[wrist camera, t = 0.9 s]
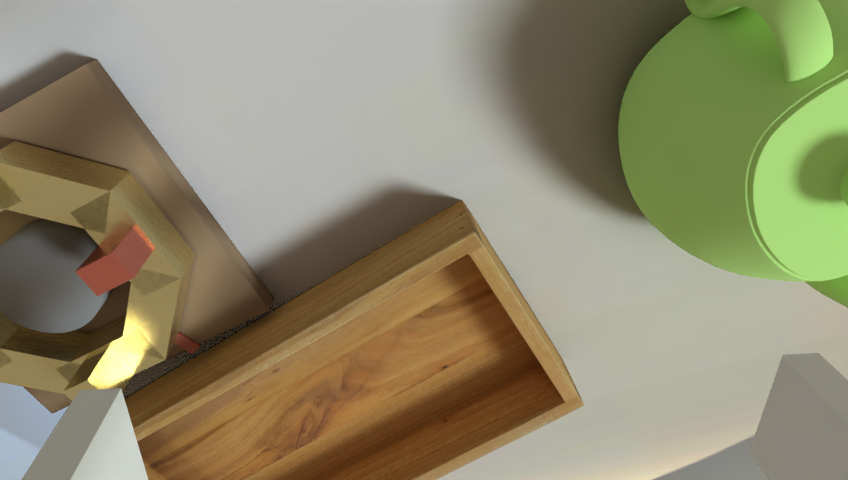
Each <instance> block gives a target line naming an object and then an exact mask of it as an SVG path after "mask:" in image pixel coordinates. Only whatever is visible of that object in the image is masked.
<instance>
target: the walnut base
mask: <svg viewBox="0 0 848 480" xmlns="http://www.w3.org/2000/svg"><path fill="white" fill-rule="evenodd" d="M14 141H17V142H20V143H24V144H28V145H32V146H35V147H39V148H43V149H47V150H50V151H54V152H58V153H62V154H65V155H69V156H73V157H77V158H80V159H84V160H88V161H92V162H95V163H99V164H103V165H107V166H110V167H114V168H118V169H121V170H125V171H129V172H131V173H132V175H133V176H134V177H135V178H136V180H137V181H138V182H139V184H140V185H141V186H142V187H143V189H144V190H145V191H146V193H147V194H148V195H149V196H150V198H151V199H152V200H153V201H154V203H155V204H156V205H157V207H158V208H159V209H160V210H161V212H162V213H163V214H164V215H165V217H166V218H167V219H168V221H169V222H170V223H171V224H172V226H173V227H174V228H175V230H176V231H177V232H178V233H179V235H180V236H181V237H182V238H183V240H184V241H185V242H186V244H187V245H188V246H189V247H190V249H191V250H192V251H193V252H194V254H195V255H194V260H193V265H192V270H191V275H190V280H189V285H188V290H187V295H186V300H185V306H184V311H183V316H182V321H181V326H180V331H179V334H178V336H177V338H176V340H175V342H174V344H173V346H172V348H171V350H170V352H169V354H168V356H167V358H166V359H168V358H170V357H172V356H175V355H177V354H179V353H181V352H183V351H185V350H186V351H188V352H189V353H191V354H193V353H194V352H195V351H196V350H197V349H198V348H199V347H200V343H202V342H204V341H206V340H208V339H210V338H212V337H215V336H217V335H219V334H221V333H223V332H225V331H227V330H229V329H231V328H234V327H236V326H238V325H240V324H242V323H244V322H246V321H248V320H250V319H253V318H255V317H257V316H259V315H261V314H263V313H265V312H267V311H269V310H270V307H271V304H272V300H273V297H272V295H271V294H270V293H269V291H268V290H267V289H266V287H265V286H264V285H263V283H262V282H261V281H260V279H259V278H258V276H257V275H256V274H255V272H254V271H253V270H252V268H251V267H250V266H249V264H248V263H247V262H246V260H245V259H244V258H243V256H242V255H241V253H240V252H239V251H238V249H237V248H236V247H235V245H234V244H233V243H232V241H231V240H230V239H229V237H228V236H227V235H226V233H225V232H224V230H223V229H222V228H221V226H220V225H219V224H218V222H217V221H216V220H215V218H214V217H213V216H212V214H211V213H210V212H209V210H208V209H207V207H206V206H205V205H204V203H203V202H202V201H201V199H200V198H199V197H198V195H197V194H196V193H195V191H194V190H193V189H192V187H191V186H190V185H189V183H188V182H187V180H186V179H185V178H184V176H183V175H182V174H181V172H180V171H179V170H178V168H177V167H176V166H175V164H174V163H173V162H172V160H171V159H170V157H169V156H168V155H167V153H166V152H165V151H164V149H163V148H162V147H161V145H160V144H159V143H158V141H157V140H156V139H155V137H154V136H153V134H152V133H151V132H150V130H149V129H148V128H147V126H146V125H145V124H144V122H143V121H142V120H141V118H140V117H139V116H138V114H137V113H136V112H135V110H134V109H133V107H132V106H131V105H130V103H129V102H128V101H127V99H126V98H125V97H124V95H123V94H122V93H121V91H120V90H119V89H118V87H117V86H116V84H115V83H114V82H113V80H112V79H111V78H110V76H109V75H108V74H107V72H106V71H105V70H104V68H103V67H102V66H101V64H100V63H99V61H98V60H97V59H96V60H94V61H92V62H90V63H87V64H85V65H83V66H81V67H80V68H78V69H76V70H74V71H73V72H71V73H69V74H67V75H66V76H64V77H62V78H60V79H59V80H57V81H55V82H53V83H52V84H50V85H48V86H46V87H44V88H43V89H41V90H39V91H37V92H36V93H34V94H32V95H30V96H29V97H27V98H25V99H23V100H22V101H20V102H18V103H16V104H15V105H13V106H11V107H9V108H8V109H6V110H4V111H2V112H1V113H0V149H2V148H4V147H5V146H7V145H9V144H11V143H12V142H14ZM97 246H98V244H97V243H96V242H95V241H94V239H93V238H92V237H91V236H90V235H89V234H88V233H87V231H86V230H85V229H84V228H80V227H76V226H72V225H68V224H64V223H59V222H55V221H51V220H47V219H43V218H39V217H35V216H31V215H27V214H23V213H18V212H14V211H10V210H6V209H5V210H3V211H2V212H0V312H1V313H2V314H4V315H5V316H6V317H8V318H9V319H10V320H12V321H14V322H15V323H17V324H19V325H21V326H23V327H26V328H29V329H31V330H35V331H39V332H45V333H64V332H70V331H73V330H75V331H79V332H84V333H89V334H91V333H93V332H95V331H97V330H99V329H101V328H103V327H105V326H107V325H109V324H111V323H113V322H115V321H117V320H119V319H121V318H123V317H125V316H126V313H127V306H128V299H129V292H130V286H131V282H130V281H127V282H125V283H123V284H121V285H119V286H117V287H115V288H113V289H111V290H109V291H107V292H105V293H103V294H101V295H99V296H97V295H96V294H95V293H94V292H93V291H92V290H91V289H90V288H89V287H88V286H87V284H86V283H85V282H84V281H83V280H82V279H81V278H80V277H79V276H78V275H77V274H76V272H75V271H76V270H77V269H78V268H79V266H80V265H81V264H82V263H83V262H84V261H85V260H86V259H87V258H88V256H89V255H90V254H91V253H92V252H93V251H94V250H95V249H96V247H97ZM23 387H24V386H23ZM24 388H25V389H26V390H27V391H28V392H29V393H30V394H32V395H33V396H34V397H35V398H36V399H37V400H38V401H39V402H40V403H41V404H42V405H43V406H45V407H46V408H47V409H48V410H49V411H50V412H51V413H54V412H57V411H58V410H61V409H63V408H65V407H67V406H69V405H70V404H71V402H72V400H71V399H70V398H68V397H67V396H66V395H65V394H61V393H56V392H50V391H45V390H40V389H34V388H29V387H24Z"/></svg>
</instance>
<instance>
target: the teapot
mask: <svg viewBox="0 0 848 480" xmlns="http://www.w3.org/2000/svg"><path fill="white" fill-rule="evenodd" d="M685 3H686V6H687V8H688V9H689V11H690V12H691V13H692V14H691V15H689V16H688V17H687V18H685V19H684V20H683V21H681V22H680V23H679V24H678V25H677V26H675V27H674V28H673V29H672V30H671V31H669V32H668V33H667V34H666V35H665V36H664V37H663V38H662V39H661V40H660V41H659V42H658V43H657V44H656V45H655V46H654V47H653V48H652V49H651V50H650V51H649V52H648V53H647V54H646V56H645V57H644V58H643V60H642V61H641V62H640V64H639V65H638V66H637V68H636V70H635V71H634V73H633V75H632V77H631V79H630V81H629V82H628V85H627V88H626V90H625V93H624V96H623V98H622V103H621V108H620V113H619V124H618V139H619V151H620V157H621V163H622V168H623V172H624V175H625V178H626V182H627V185H628V187H629V189H630V192H631V194H632V196H633V198H634V200H635V202H636V203H637V205H638V207H639V208H640V210H641V211H642V213H643V214H644V215H645V216H646V218H647V219H648V220H649V221H650V222H651V224H652V225H653V226H655V227H656V228H657V229H658V230H659V231H660V232H661V233H662V234H664V235H665V236H666V237H667V238H668V239H669V240H670V241H672V242H673V243H675V244H676V245H678V246H679V247H680V248H682V249H683V250H685V251H687V252H688V253H690V254H691V255H693V256H695V257H697V258H699V259H701V260H703V261H705V262H707V263H709V264H711V265H713V266H715V267H718V268H721V269H724V270H727V271H730V272H734V273H737V274H740V275H745V276H750V277H756V278H764V279H773V280H783V281H796V282H800V281H805V282H806V283H807V284H809V285H810V286H811V287H813V288H814V289H816V290H817V291H819V292H820V293H822V294H824V295H825V296H827V297H829V298H831V299H832V300H834V301H836V302H838V303H840V304H842V305H844V306H846V307H848V0H685Z"/></svg>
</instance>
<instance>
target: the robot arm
mask: <svg viewBox="0 0 848 480" xmlns="http://www.w3.org/2000/svg"><path fill="white" fill-rule="evenodd" d="M749 453H750V455H751V456H752V457H753V459H754V460H755V461H756V463H757V464H758V466H760V468H761V470H762V471H763V472H764V474H765V475H766V477H767V478H768V479H769V480H848V380H847V379H846V378H844V377H843V376H842V375H841V374H840V373H839V372H838V371H837V370H836V369H835V368H834V367H833V366H832V365H831V364H830V363H828V362H827V361H826V360H825V359H824V358H823V357H822V356H821V355H820V354H819V353H811V354H791V355H783V356H782V359H781V362H780V365H779V367H778V370H777V373H776V376H775V379H774V382H773V385H772V388H771V391H770V394H769V396H768V399H767V402H766V405H765V408H764V411H763V414H762V417H761V420H760V423H759V425H758V428H757V431H756V434H755V437H754V440H753V443H752V446H751V449H750V452H749ZM22 480H148V477H147V473H146V470H145V466H144V463H143V460H142V456H141V453H140V450H139V446H138V443H137V440H136V436H135V433H134V430H133V426H132V423H131V420H130V416H129V413H128V409H127V406H126V403H125V399H124V396H123V393H122V389H121V388H115V389H95V390H79V391H78V393H77V394H76V396H75V398H74V399H73V401H72V402H71V404H70V405H69V407H68V408H67V410H66V412H65V413H64V415H63V416H62V418H61V419H60V421H59V423H58V424H57V426H56V427H55V429H54V430H53V432H52V433H51V435H50V436H49V438H48V439H47V441H46V443H45V444H44V446H43V447H42V449H41V450H40V452H39V453H38V455H37V457H36V458H35V460H34V461H33V463H32V464H31V466H30V467H29V469H28V471H27V472H26V474H25V475H24V477H23V478H22Z"/></svg>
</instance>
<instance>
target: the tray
mask: <svg viewBox="0 0 848 480" xmlns="http://www.w3.org/2000/svg"><path fill="white" fill-rule="evenodd" d="M125 403H126V406H127V409H128V413H129V416H130V420H131V423H132V426H133V430H134V433H135V436H136V440H137V443H138V446H139V450H140V453H141V456H142V460H143V463H144V466H145V470H146V473H147V477H148V480H436V479H438V478H440V477H442V476H444V475H446V474H448V473H450V472H452V471H454V470H456V469H458V468H460V467H462V466H464V465H466V464H468V463H470V462H472V461H474V460H476V459H478V458H480V457H482V456H484V455H486V454H488V453H490V452H492V451H494V450H496V449H498V448H500V447H502V446H504V445H506V444H508V443H510V442H513V441H515V440H517V439H519V438H521V437H523V436H525V435H527V434H529V433H531V432H533V431H535V430H537V429H539V428H541V427H543V426H545V425H547V424H549V423H551V422H553V421H555V420H557V419H558V418H560V417H562V416H564V415H566V414H568V413H570V412H572V411H574V410H576V409H578V408H580V407H582V406H584V403H583V401H582V399H581V397H580V395H579V393H578V391H577V389H576V386H575V384H574V382H573V380H572V378H571V376H570V374H569V372H568V370H567V368H566V366H565V364H564V362H563V360H562V358H561V356H560V355H559V353H558V351H557V350H556V348H555V346H554V345H553V343H552V342H551V340H550V338H549V337H548V335H547V334H546V332H545V330H544V329H543V327H542V326H541V324H540V322H539V321H538V319H537V317H536V316H535V314H534V313H533V311H532V309H531V308H530V306H529V305H528V303H527V301H526V300H525V298H524V297H523V295H522V293H521V292H520V290H519V289H518V287H517V285H516V284H515V282H514V281H513V279H512V277H511V276H510V274H509V273H508V271H507V270H506V268H505V266H504V265H503V263H502V262H501V260H500V258H499V257H498V255H497V254H496V252H495V251H494V249H493V247H492V246H491V244H490V243H489V241H488V239H487V238H486V236H485V235H484V233H483V231H482V230H481V228H480V227H479V225H478V223H477V222H476V220H475V219H474V217H473V216H472V214H471V212H470V211H469V209H468V208H467V206H466V205H465V203H464V202H463V200H461V201H459V202H457V203H455V204H454V205H452V206H450V207H449V208H447V209H445V210H443V211H442V212H440V213H438V214H437V215H435V216H433V217H431V218H430V219H428V220H426V221H425V222H423V223H421V224H419V225H418V226H416V227H414V228H413V229H411V230H409V231H408V232H406V233H404V234H403V235H401V236H399V237H398V238H396V239H394V240H393V241H391V242H389V243H388V244H386V245H384V246H382V247H381V248H379V249H377V250H376V251H374V252H372V253H371V254H369V255H367V256H365V257H364V258H362V259H360V260H359V261H357V262H355V263H353V264H352V265H350V266H348V267H347V268H345V269H343V270H342V271H340V272H338V273H336V274H335V275H333V276H331V277H330V278H328V279H326V280H325V281H323V282H321V283H320V284H318V285H316V286H314V287H313V288H311V289H309V290H308V291H306V292H304V293H303V294H301V295H299V296H297V297H296V298H294V299H292V300H291V301H289V302H287V303H286V304H284V305H282V306H280V307H279V308H277V309H275V310H274V311H272V312H270V313H269V314H267V315H265V316H264V317H262V318H260V319H258V320H257V321H255V322H253V323H252V324H250V325H248V326H247V327H245V328H243V329H242V330H240V331H238V332H237V333H235V334H233V335H232V336H230V337H228V338H227V339H225V340H223V341H222V342H220V343H218V344H216V345H215V346H213V347H211V348H210V349H208V350H206V351H205V352H203V353H201V354H200V355H198V356H196V357H195V358H193V359H191V360H190V361H188V362H186V363H184V364H183V365H181V366H179V367H178V368H176V369H174V370H173V371H171V372H169V373H168V374H166V375H164V376H162V377H161V378H159V379H157V380H156V381H154V382H152V383H151V384H149V385H147V386H146V387H144V388H142V389H140V390H139V391H137V392H135V393H134V394H132V395H130V396H129V397H127V398H125Z"/></svg>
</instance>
